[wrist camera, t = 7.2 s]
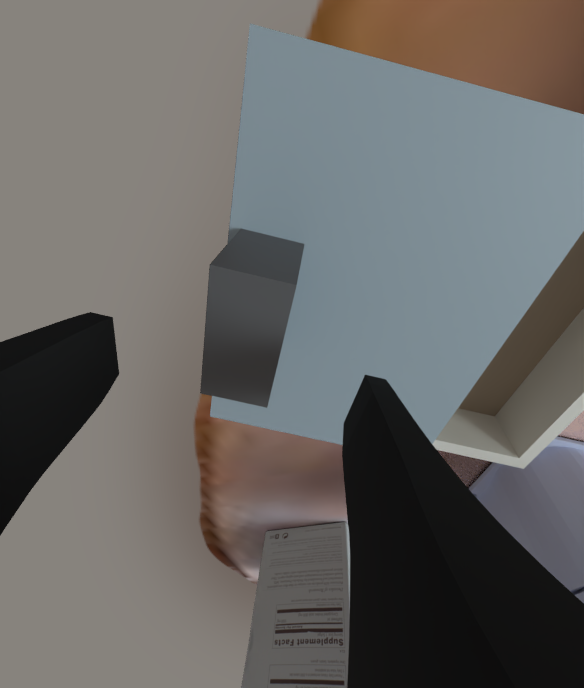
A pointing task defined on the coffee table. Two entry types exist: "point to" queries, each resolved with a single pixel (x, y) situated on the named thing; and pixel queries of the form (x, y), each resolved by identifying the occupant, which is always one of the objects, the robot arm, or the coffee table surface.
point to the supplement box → (301, 610)
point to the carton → (528, 378)
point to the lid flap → (379, 235)
